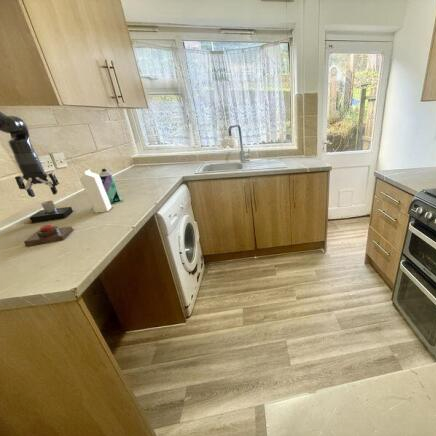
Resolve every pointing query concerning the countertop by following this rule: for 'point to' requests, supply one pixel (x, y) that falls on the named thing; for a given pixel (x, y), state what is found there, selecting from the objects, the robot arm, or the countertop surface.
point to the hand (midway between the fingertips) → (44, 195)
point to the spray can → (110, 186)
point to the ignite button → (46, 228)
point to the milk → (95, 192)
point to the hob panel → (51, 215)
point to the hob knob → (49, 207)
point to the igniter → (48, 236)
